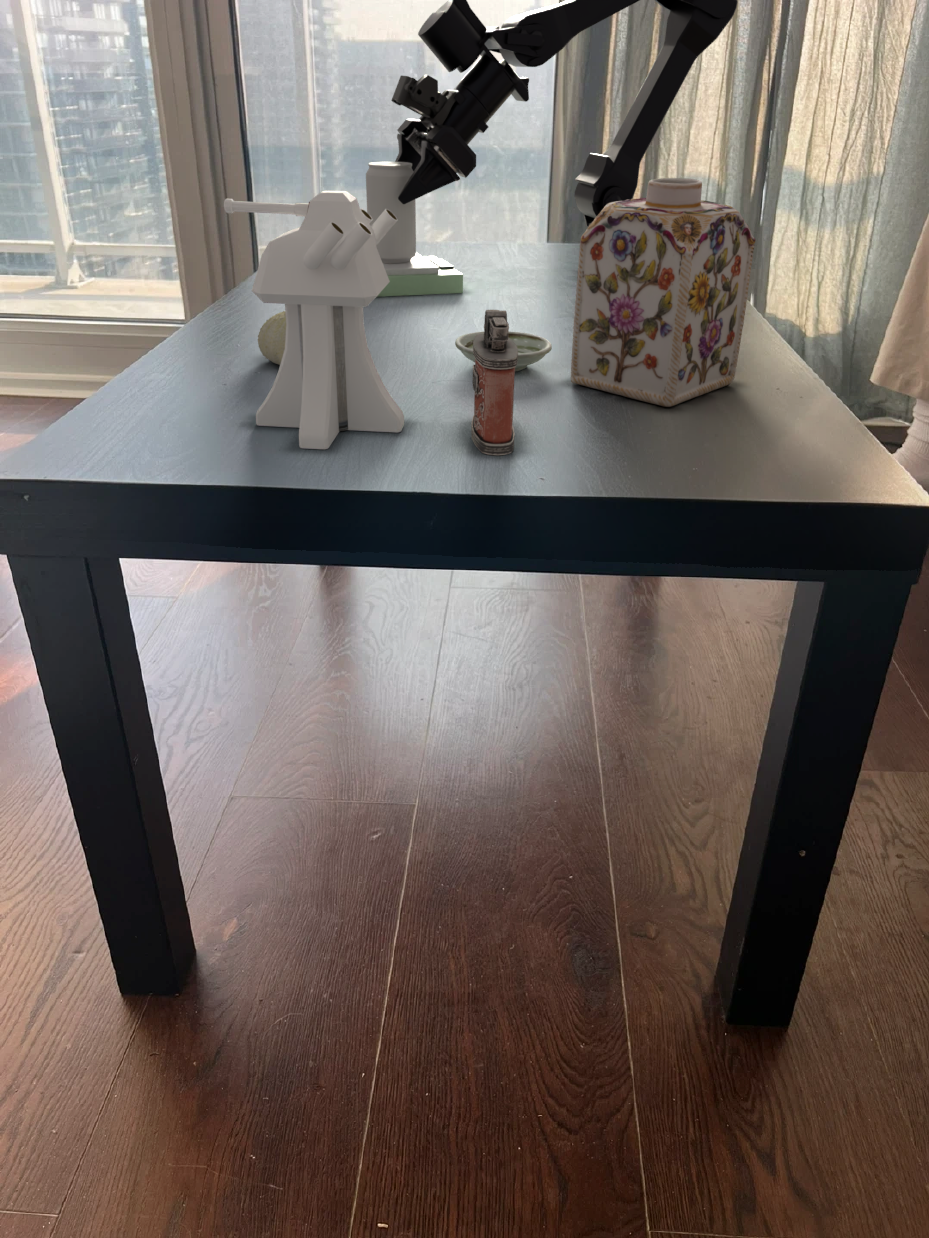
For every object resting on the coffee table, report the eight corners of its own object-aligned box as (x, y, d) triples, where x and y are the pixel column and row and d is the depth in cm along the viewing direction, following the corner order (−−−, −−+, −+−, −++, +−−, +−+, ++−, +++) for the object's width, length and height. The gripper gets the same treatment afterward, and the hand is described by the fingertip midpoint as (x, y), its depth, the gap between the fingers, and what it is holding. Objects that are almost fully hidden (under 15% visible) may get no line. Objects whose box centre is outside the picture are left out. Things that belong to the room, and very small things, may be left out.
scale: (434, 273, 141) (434, 250, 139) (462, 293, 129) (463, 267, 128) (324, 277, 137) (323, 253, 135) (343, 298, 125) (342, 272, 124)
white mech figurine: (265, 399, 88) (247, 180, 79) (413, 406, 86) (410, 185, 78) (224, 444, 77) (196, 198, 68) (390, 452, 76) (384, 203, 67)
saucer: (534, 383, 93) (536, 358, 92) (440, 372, 96) (440, 347, 95) (561, 359, 101) (563, 335, 100) (473, 349, 104) (474, 326, 103)
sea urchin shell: (368, 332, 101) (342, 286, 94) (347, 400, 100) (320, 358, 92) (289, 324, 104) (258, 278, 97) (268, 390, 102) (234, 348, 95)
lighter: (467, 422, 83) (469, 301, 78) (506, 422, 83) (511, 301, 78) (476, 455, 76) (479, 324, 71) (519, 455, 76) (525, 324, 71)
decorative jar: (737, 385, 94) (769, 181, 85) (671, 411, 87) (698, 190, 78) (634, 361, 101) (653, 170, 92) (564, 383, 94) (578, 178, 85)
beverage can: (425, 261, 131) (425, 163, 125) (387, 266, 128) (384, 165, 122) (397, 254, 136) (395, 159, 130) (359, 259, 132) (355, 161, 126)
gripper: (411, 50, 129) (333, 144, 131) (452, 49, 113) (362, 156, 116) (467, 117, 135) (391, 206, 137) (513, 125, 119) (426, 225, 122)
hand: (391, 197), depth 128 cm, fingers open, 9 cm apart
